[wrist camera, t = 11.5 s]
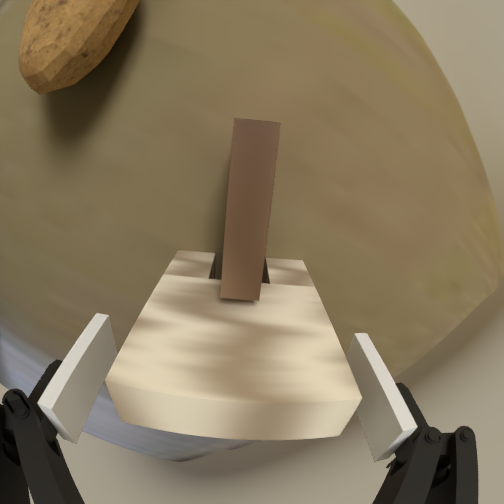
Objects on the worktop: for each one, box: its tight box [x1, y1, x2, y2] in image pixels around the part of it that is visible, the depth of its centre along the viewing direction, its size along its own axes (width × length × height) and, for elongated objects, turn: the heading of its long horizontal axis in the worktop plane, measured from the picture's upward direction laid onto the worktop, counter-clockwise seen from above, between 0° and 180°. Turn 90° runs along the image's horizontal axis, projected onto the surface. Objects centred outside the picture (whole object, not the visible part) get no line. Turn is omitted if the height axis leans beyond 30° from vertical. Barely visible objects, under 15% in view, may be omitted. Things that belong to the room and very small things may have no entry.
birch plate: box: [105, 250, 362, 440], centre depth 16 cm, size 10×3×14 cm, turn 84°
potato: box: [19, 0, 140, 95], centre depth 10 cm, size 10×14×8 cm
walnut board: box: [221, 118, 280, 301], centre depth 19 cm, size 2×22×8 cm, turn 174°
